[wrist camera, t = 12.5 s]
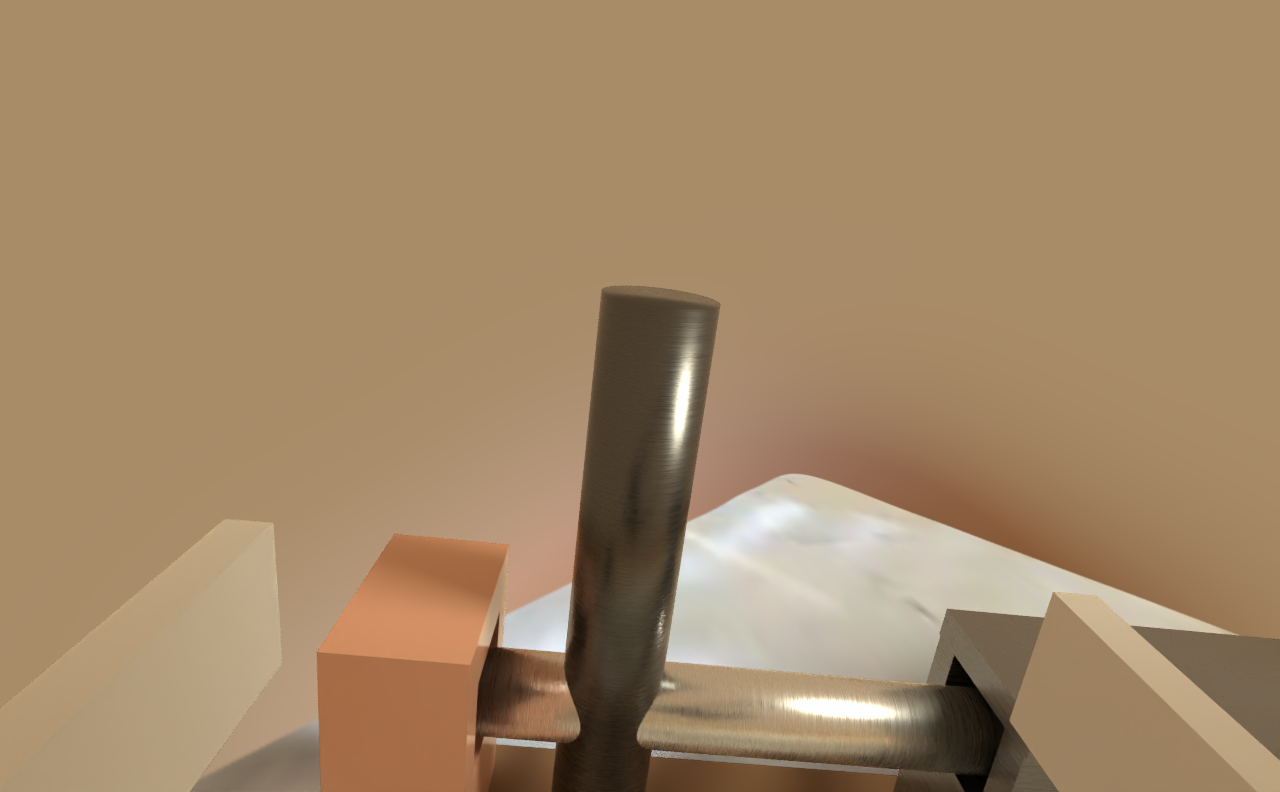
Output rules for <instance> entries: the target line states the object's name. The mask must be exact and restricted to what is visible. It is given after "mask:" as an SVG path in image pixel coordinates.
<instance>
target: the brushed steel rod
mask: <svg viewBox="0 0 1280 792" xmlns="http://www.w3.org/2000/svg"><path fill="white" fill-rule="evenodd" d="M719 310H720V303H719V302H717V301H715V300H713V299H710V298H708V297H704V296H701V295H697V294H692V293H688V292H682V291H677V290H671V289H663V288H655V287H644V286H610V287H606V288H603V289H602V292H601V302H600V312H599V322H598V332H597V341H596V352H595V362H594V371H593V381H592V392H591V401H590V412H589V422H588V431H587V441H586V451H585V461H584V471H583V481H582V491H581V502H580V511H579V521H578V531H577V541H576V552H575V561H574V571H573V581H572V591H571V601H570V611H569V621H568V630H567V640H566V650H565V653H561V652H550V651H538V650H526V649H514V648H503V647H491V646H489V649H488V652H487V656H486V659H485V663H484V666H483V669H482V673H481V676H480V679H479V683H478V695H477V713H476V731H475V736H482V737H494V738H507V739H520V740H533V741H546V742H556V750H555V760H554V770H553V780H552V790H551V792H645V791H646V784H647V778H648V771H649V765H650V758H651V752H652V750H660V751H673V752H686V753H699V754H711V755H724V756H737V757H750V758H762V759H775V760H788V761H801V762H813V763H826V764H839V765H852V766H864V767H877V768H890V769H903V770H915V771H928V772H941V773H954V774H966V775H979V776H989V773H990V770H991V768H992V765H993V762H994V759H995V756H996V753H997V750H998V747H999V745H1000V742H1001V739H1002V736H1003V733H1004V730H1005V727H1004V726H1003V724H1002V723H1001V721H1000V720H999V718H998V717H997V715H996V714H995V713H994V711H993V710H992V708H991V707H990V705H989V704H988V702H987V701H986V700H985V698H984V697H983V695H982V694H981V692H980V691H979V689H978V688H971V687H959V686H947V685H936V684H924V683H912V682H900V681H889V680H877V679H865V678H854V677H842V676H830V675H819V674H807V673H795V672H784V671H772V670H760V669H748V668H737V667H725V666H713V665H702V664H690V663H678V662H667V661H666V654H667V648H668V641H669V635H670V628H671V622H672V615H673V609H674V602H675V596H676V589H677V583H678V576H679V570H680V563H681V557H682V550H683V544H684V537H685V531H686V524H687V517H688V511H689V505H690V498H691V492H692V485H693V478H694V472H695V466H696V459H697V453H698V446H699V440H700V433H701V427H702V420H703V414H704V407H705V401H706V394H707V388H708V382H709V375H710V368H711V362H712V355H713V349H714V343H715V336H716V330H717V322H718V316H719Z"/></svg>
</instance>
